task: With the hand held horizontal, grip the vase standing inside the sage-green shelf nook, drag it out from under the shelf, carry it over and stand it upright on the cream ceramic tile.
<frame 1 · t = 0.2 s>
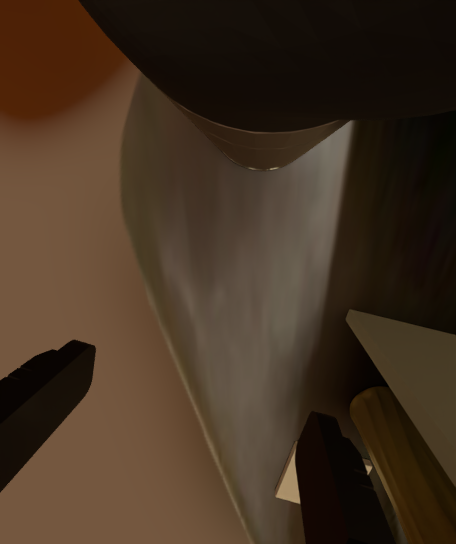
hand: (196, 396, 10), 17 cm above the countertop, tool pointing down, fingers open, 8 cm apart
tile: (320, 475, 33), on the countertop
vase: (377, 406, 29), on the countertop
shelf nook: (384, 381, 28), on the countertop
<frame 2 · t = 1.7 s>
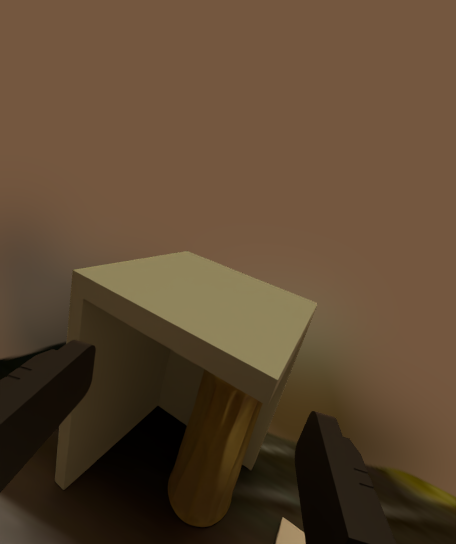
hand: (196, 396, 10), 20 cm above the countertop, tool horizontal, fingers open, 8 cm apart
vase: (199, 490, 25), on the countertop
shelf nook: (166, 471, 26), on the countertop
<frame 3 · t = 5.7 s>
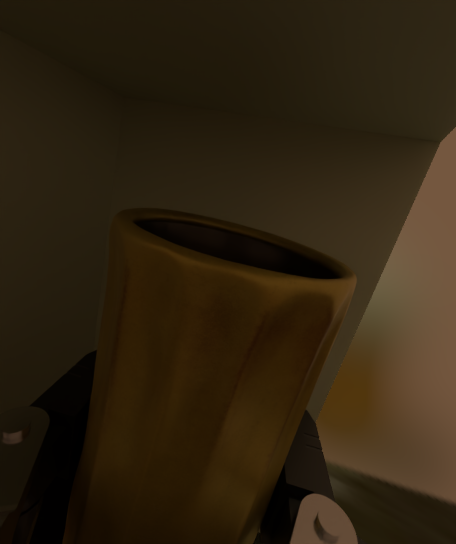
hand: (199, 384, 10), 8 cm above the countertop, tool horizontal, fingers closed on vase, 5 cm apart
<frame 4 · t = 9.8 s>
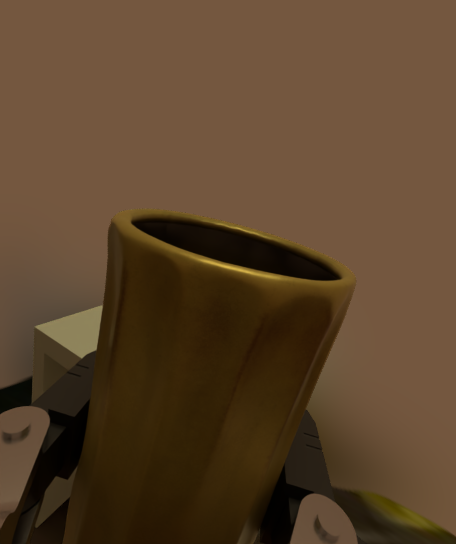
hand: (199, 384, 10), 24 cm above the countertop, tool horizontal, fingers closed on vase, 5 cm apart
shelf nook: (139, 503, 27), on the countertop
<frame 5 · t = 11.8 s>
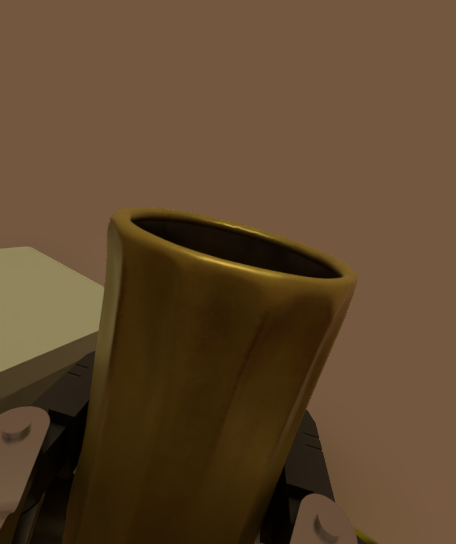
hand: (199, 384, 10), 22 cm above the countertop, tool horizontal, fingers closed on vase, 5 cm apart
when the fingers open (10 cm above the countertop, at t = 13.7 s): vase stays where it is, resting on tile.
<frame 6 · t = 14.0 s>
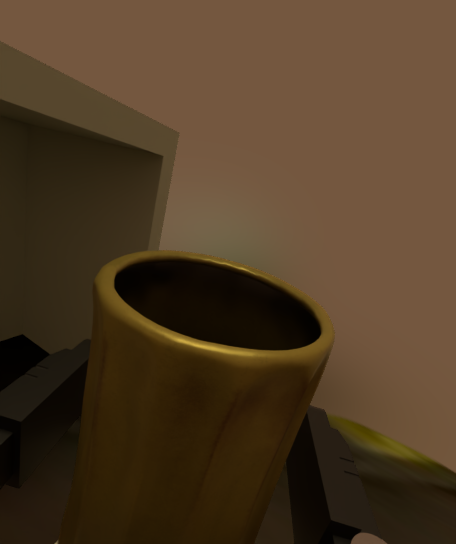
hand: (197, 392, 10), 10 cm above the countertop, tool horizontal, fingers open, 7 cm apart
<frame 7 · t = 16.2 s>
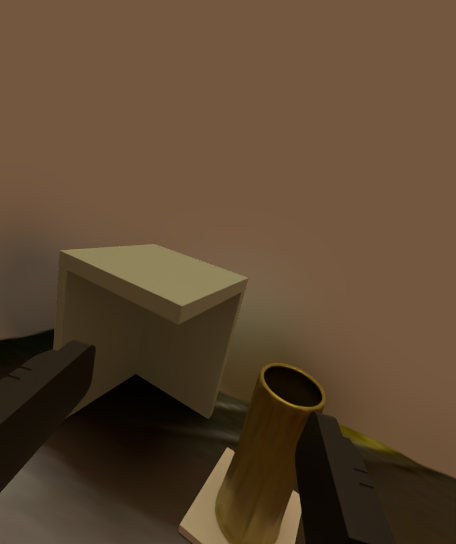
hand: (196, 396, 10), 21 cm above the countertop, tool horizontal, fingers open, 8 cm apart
tile: (245, 515, 25), on the countertop
vase: (247, 513, 24), point 1 cm above the countertop, touching tile
shelf nook: (137, 416, 32), on the countertop
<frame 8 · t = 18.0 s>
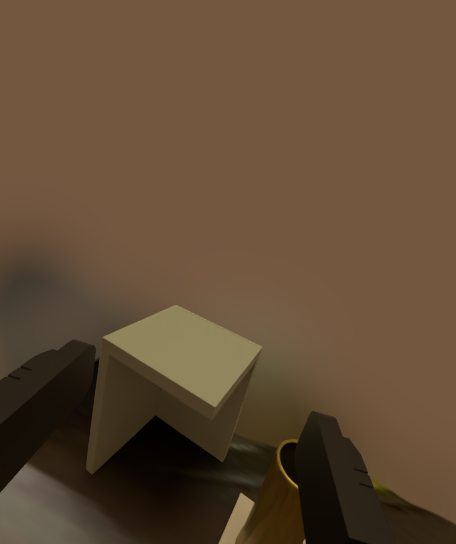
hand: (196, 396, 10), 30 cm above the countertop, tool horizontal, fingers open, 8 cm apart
shelf nook: (161, 462, 37), on the countertop
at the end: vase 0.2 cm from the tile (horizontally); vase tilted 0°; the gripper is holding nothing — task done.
